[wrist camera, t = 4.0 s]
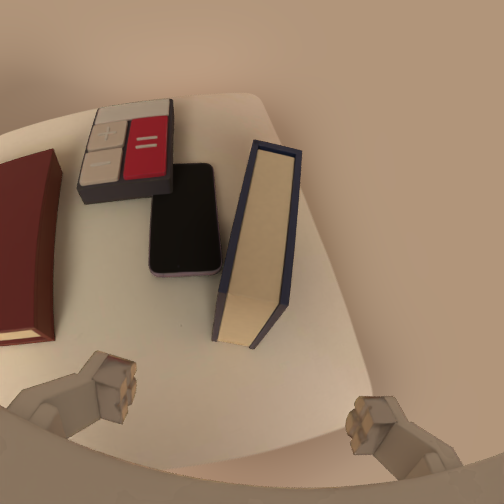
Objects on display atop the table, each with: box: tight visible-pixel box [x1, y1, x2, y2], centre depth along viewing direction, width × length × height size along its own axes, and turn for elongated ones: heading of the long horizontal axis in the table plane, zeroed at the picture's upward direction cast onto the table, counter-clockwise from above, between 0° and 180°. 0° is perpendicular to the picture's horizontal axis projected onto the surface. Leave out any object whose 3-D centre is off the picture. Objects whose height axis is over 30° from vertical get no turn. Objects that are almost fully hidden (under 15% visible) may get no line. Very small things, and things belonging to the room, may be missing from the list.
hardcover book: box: [212, 140, 302, 349], centre depth 26 cm, size 4×13×12 cm, turn 171°
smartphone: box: [149, 163, 222, 277], centre depth 33 cm, size 7×1×15 cm
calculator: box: [77, 99, 174, 204], centre depth 35 cm, size 11×4×15 cm
